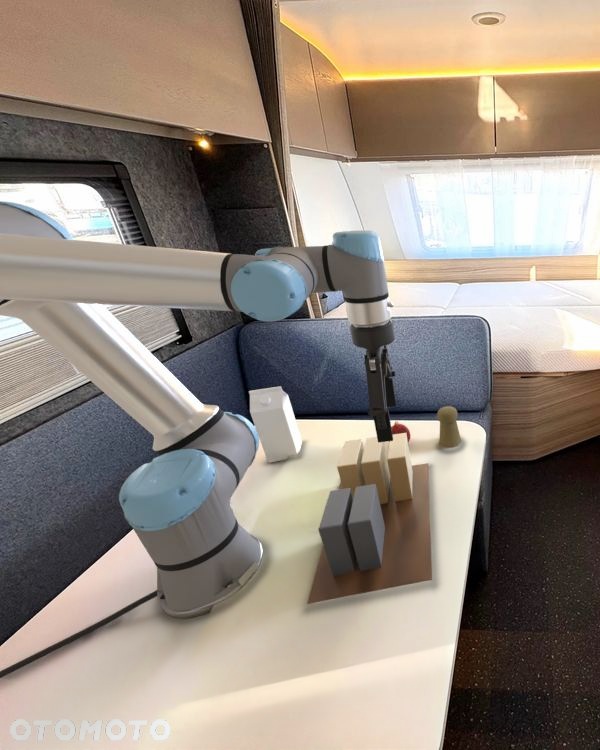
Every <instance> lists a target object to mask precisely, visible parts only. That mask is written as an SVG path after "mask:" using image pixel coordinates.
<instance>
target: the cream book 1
mask: <svg viewBox="0 0 600 750" xmlns="http://www.w3.org/2000/svg"><path fill="white" fill-rule="evenodd" d="M364 448H365V446H364V442H363V439H362V438H358V439H351V440H345V441H344V445H343V448H342V451H341V454H340V458H339V461H338V464H337V465H336V466H337V467H336V469H337V473H338V475H339V479H340V483H342V487H343V489H346V488H350V489H351V493H352V497H353V499H354V494H355V489H356V487H359V486H365V485H366V484H365V480H364V475H363V471H362V467H361V462H362V457H363V452H364Z"/></svg>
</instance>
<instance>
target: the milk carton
mask: <svg viewBox="0 0 600 750" xmlns="http://www.w3.org/2000/svg"><path fill="white" fill-rule="evenodd" d="M248 394H249V413H250V416H251V420H252V421H253V426H254V427H255V429H256V430H257V433H258V436H259V442H260V445H261V447H262V449H263V452H264V455H265V458H266V460H267V461H266V462H267V463H269V464H270V463H274V462H275V463H276V462H279V461H280V462H281V461H285V460H288V459H289V457H290V456H293V455H298V454H299V452H301V448H302V444H303V440H302V437H301V433H300V429H299V426H298V423H297V420H296V417H295V416H296V415H295V414H294V410H293V406H292V403H291V400H290V397H289V393H287V392H285V391H284V390H283V388H282V386H281V385H280V386H274V387H267V388H260V389H255V390H254V389H253V390H249V391H248Z"/></svg>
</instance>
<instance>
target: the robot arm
mask: <svg viewBox="0 0 600 750" xmlns="http://www.w3.org/2000/svg"><path fill="white" fill-rule="evenodd" d="M331 292H332V293H334V292H342V294H343V298H344V305H345V310H346V317H347V322H348V323H349V324H350V326H349V330H350V335H351V339H352V340H351V341H352V344H353V345H354V346H355V347H357V348H360V349H365V354H364V362H363V365H364V366H365V367H364V368H365V372H366V373H365V374H366V382H367V392H368V393H367V394H368V404H369V410H367V415H369V416H371V417H372V419H373V423H374V428H375V434H376V437H377V439H378V443H379V442H384V443H387V442H389V441H393V435H392V429H391V427H392V423H391V418H390V410H389V408H392V407H397V399H396V392H395V385H394V380H393V377H396V371H394V370H393V366H392V363H391V359H390V355H389V348H388V345H390V344H392V343H393V342H394V341H395V340H396V335H395V334H396V333H395V327H394V322H393V320H391V319H392V316H393V315H392V308H394V306H395V303H394V302H393V301H390V296H389V287H388V278H387V272H386V264H385V257H384V253H383V247H382V243H381V238H380V236H379V235H378V233H377V232H375V231H374V230H346V231H344V230H343V231H336V232H334V233H333V234H332V242H331V244H328V245H314V246H313V245H311V246H275V247H270V248H268V247H267V248H260V249H258V250H257V251H256V252H255V254H253V255H251V254H241V253H239V254H237V253H229V252H218V251H217V252H216V251H206V250H194V249H182V248H170V247H161V246H147V245H137V244H125V243H114V242H102V241H90V240H82V239H81V240H79V239H75V238H74V236H73V235H72V234H71V233H70V231H69V230H67V228H65V226H63V225H62V224H61V223H60V222H59V221H57V220H56V219H54V218H53V217H51V216H50V215H49V214H46V213H44V212H43V211H40V210H38V209H35V208H34V207H31V206H28V205H24V204H21V203H17V202H11V201H2V200H0V316H3V317H10V318H15V319H19V320H21V321H22V322H23V323H24V324H25V325H26V326H27V327H28V328H30V329H31V330H32V331H33V332H34V333H35V334H37V335H38V336H39V337H40V338H41V339H42V340H44V342H45V343H47V344H48V345H49V346H50V347H51V348H53V350H55V351H56V352H57V353H58V354H59V355H61V356H62V357H63V358H64V359H65V360H66V361H67V362H68V363H70V365H72V366H73V367H75V368H76V370H78V371H79V372H80V373H81V374H82V375H84V376H85V378H87V379H88V380H89V381H90V382H92V383H93V384H94V385H95V386H96V387H97V388H98V389H99V390H101V391H102V392H103V393H104V394H105V395H106V396H108V398H110V399H111V400H112V401H113V402H115V403H116V404H117V406H119V407H120V408H121V409H122V410H123V411H125V413H127V414H128V415H129V416H130V417H132V419H134V420H135V421H136V422H137V423H138V424H140V426H142V427H143V428H144V429H145V430H146V431H148V433H149V434H151V435H152V436H153V443H152V450H153V451H154V452H155V453H156V454H158V455H159V456H156V457H154V458H152V461H151V462H149V463H148V462H147V463H143V464H142V465H140V466H139V467H138V468H136V469H135V470H134V471H133V472H132V473H131V474H130V475H129V476H128V477H127V478H126V479H125V481H124V483H123V484H122V485H121V488H120V490H119V495H118V500H119V504H120V506H121V508H122V511H123V516H124V519H125V520H126V522H127V523H128V524H129V525H130V526H131V528H132V529H133V531H134V533H135V534H136V536H137V537H138V539H139V541H140V542H141V544H142V545H143V547H144V549H145V550H146V552H147V554H148V556H149V557H150V558H151V560H152V562H153V563H154V565H155V567H156V590H154V591H153V592H149V593H148V594H147V595H145V596H143V597H141V598H139V599H137V600H136V601H134V602H132V603H130V604H128V605H127V606H125V607H123V608H120V609H119V610H118V611H116V612H114V613H112V614H110V615H109V616H107V617H105V618H103V619H101V620H99V621H98V622H95V623H94V624H92V625H90V626H87V627H86V628H84V629H82V630H80V631H78V632H76V633H74V634H72V635H70V636H68V637H65V638H64V639H62V640H60V641H57V642H56V643H54V644H52V645H50V646H48V647H46V648H44V649H42V650H40V651H38V652H36V653H34V654H32V655H30V656H28V657H26V658H24V659H21V660H19V661H18V662H15V663H14V664H12V665H10V666H8V667H6V668H4V669H1V670H0V679H2V678H4V677H6V676H8V675H10V674H12V673H14V672H16V671H18V670H20V669H22V668H24V667H26V666H28V665H30V664H31V663H33V662H35V661H37V660H39V659H42V658H44V657H45V656H48V655H49V654H52V653H54V652H55V651H57V650H59V649H61V648H63V647H65V646H67V645H69V644H72V643H74V642H75V641H77V640H79V639H81V638H82V637H84V636H87V635H88V634H90V633H93V632H94V631H97V630H98V629H100V628H102V627H104V626H106V625H108V624H110V623H111V622H113V621H115V620H117V619H119V617H122V616H123V615H126V614H127V613H129V612H131V611H133V610H134V609H136V608H137V607H140V606H141V605H143V604H145V603H147V602H149V601H150V600H152V599H154V598H156V597H157V601H158V603H159V604H160V606H161V608H162V610H163V611H164V612H165V613H166V614H167V615H169V616H171V617H174V618H180V619H184V618H186V619H187V618H193V617H198V616H201V615H205V614H207V613H210V612H212V610H213V608H214V607H215V606H216V605H217V604H219V603H220V604H221V603H222V602H223V601H225V600H227V599H228V598H230V597H231V596H233V595H234V594H236V593H237V592H238V591H240V590H241V589H242V588H243V587H244V586H245V585H246V584H247V583H248V582H249V581H250V580H251V579H252V577H253V576H254V575H255V573H256V572H257V571H258V569H259V567H260V566H261V563H262V561H263V556H264V549H263V546H262V543H261V542H260V541H259V539H258V538H257V537H255V536H254V535H253V534H250V533H249V531H247V530H246V529H245V528H244V527H243V526H242V525H240V524H239V522H238V520H237V517H236V515H235V513H234V511H233V508H232V506H231V499H232V497H233V495H234V494H235V492H236V490H237V488H238V487H239V485H240V484H241V482H242V480H243V478H244V476H245V475H246V473H247V471H248V470H249V468H250V467H251V466H252V464H253V463H254V461H255V459H256V455H257V452H258V450H259V446H260V439H259V436H258V433H257V430H256V428H255V425H254V423H252V422H251V421H250V420H249V419H248V418H246V417H245V416H243V415H241V414H238V413H237V414H233V412H230V411H224V410H222V409H221V408H220V406H218V405H217V404H205V403H203V402H201V401H200V400H199V399H198V398H197V397H196V395H194V394H193V393H192V392H191V391H190V390H189V388H187V387H186V386H185V385H184V384H183V383H182V382H181V381H180V380H179V379H178V378H177V377H176V376H175V374H173V373H172V372H171V371H170V370H169V369H168V368H167V367H166V366H165V365H164V364H163V363H162V362H161V361H160V360H159V359H158V358H157V357H156V356H155V355H154V354H153V352H151V351H150V350H149V349H148V348H147V347H146V346H145V345H144V344H143V343H142V342H141V341H140V340H139V339H138V338H137V337H136V336H135V334H133V333H132V332H131V331H130V330H129V329H128V328H127V327H126V326H125V325H124V324H123V323H122V322H121V321H120V320H119V319H118V318H117V317H116V316H115V315H114V314H113V313H112V312H111V311H110V310H109V309H108V308H107V307H106V305H107V306H124V307H125V306H126V307H147V308H163V309H181V310H183V309H184V310H203V311H205V310H206V311H223V312H240V313H241V312H243V313H244V314H245V315H247V316H249V317H251V318H252V319H255V320H257V321H261V322H268V323H269V322H270V323H271V322H277V321H278V322H279V321H281V320H283V319H287V318H288V317H290V316H292V315H294V314H295V313H296V312H297V311H299V310H300V309H301V308H302V306H303V305H304V303H305V301H306V300H308V298H309V297H311V295H313V294H318V293H320V294H321V293H331Z"/></svg>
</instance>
